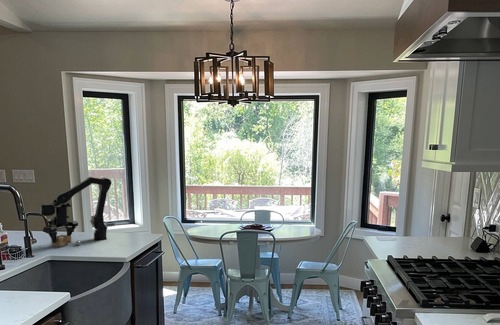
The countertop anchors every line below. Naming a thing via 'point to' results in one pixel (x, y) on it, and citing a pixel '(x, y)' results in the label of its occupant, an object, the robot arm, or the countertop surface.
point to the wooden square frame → (61, 240)
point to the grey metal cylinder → (77, 243)
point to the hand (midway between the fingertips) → (61, 240)
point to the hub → (62, 245)
